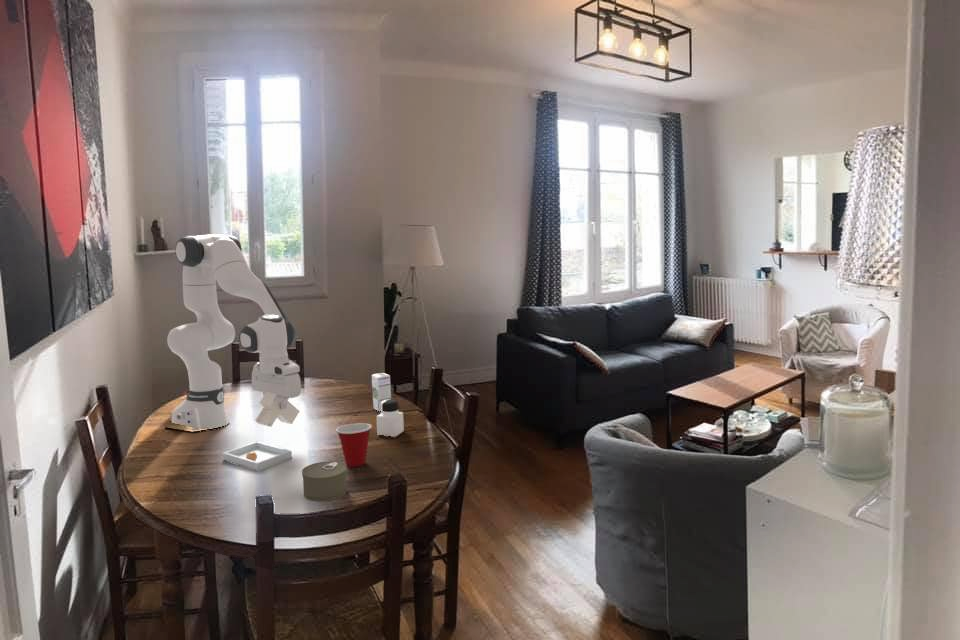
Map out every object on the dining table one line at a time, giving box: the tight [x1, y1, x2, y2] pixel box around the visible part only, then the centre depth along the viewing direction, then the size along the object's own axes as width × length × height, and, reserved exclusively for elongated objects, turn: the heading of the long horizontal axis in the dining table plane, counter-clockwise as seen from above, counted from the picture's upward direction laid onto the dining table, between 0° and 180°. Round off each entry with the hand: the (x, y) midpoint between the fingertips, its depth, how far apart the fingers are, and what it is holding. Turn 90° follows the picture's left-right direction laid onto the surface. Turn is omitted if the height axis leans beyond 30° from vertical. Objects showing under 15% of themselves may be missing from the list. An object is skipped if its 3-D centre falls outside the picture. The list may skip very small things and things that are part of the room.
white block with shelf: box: [254, 392, 300, 427], centre depth 209 cm, size 10×6×12 cm
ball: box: [246, 452, 257, 461], centre depth 200 cm, size 3×3×3 cm
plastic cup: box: [335, 422, 372, 468], centre depth 199 cm, size 11×11×12 cm
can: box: [301, 461, 348, 503], centre depth 178 cm, size 12×12×7 cm
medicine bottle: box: [376, 398, 405, 438], centre depth 228 cm, size 7×7×12 cm
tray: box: [222, 441, 293, 472], centre depth 204 cm, size 17×13×2 cm
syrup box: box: [371, 372, 392, 413], centre depth 257 cm, size 6×6×14 cm
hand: (276, 407), depth 209 cm, fingers closed on white block with shelf, 5 cm apart
